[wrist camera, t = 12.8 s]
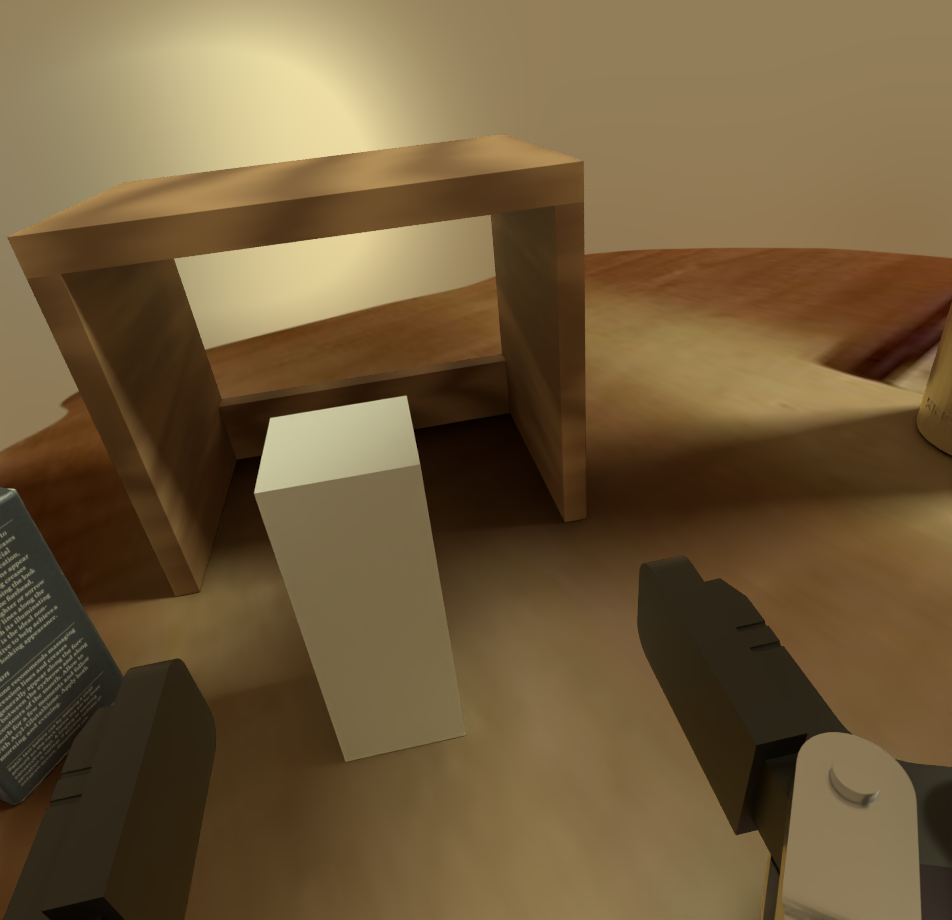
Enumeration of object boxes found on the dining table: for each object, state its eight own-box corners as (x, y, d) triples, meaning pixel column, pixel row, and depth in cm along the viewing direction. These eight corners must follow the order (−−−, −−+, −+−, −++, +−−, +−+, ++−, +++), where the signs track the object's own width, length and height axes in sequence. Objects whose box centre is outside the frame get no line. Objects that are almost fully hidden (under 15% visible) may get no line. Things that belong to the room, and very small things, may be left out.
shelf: (522, 402, 46) (504, 134, 37) (586, 518, 34) (583, 160, 25) (221, 453, 44) (124, 182, 35) (175, 596, 32) (7, 237, 23)
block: (449, 644, 28) (406, 395, 21) (466, 735, 24) (420, 464, 18) (345, 666, 27) (270, 418, 21) (345, 762, 23) (253, 493, 17)
